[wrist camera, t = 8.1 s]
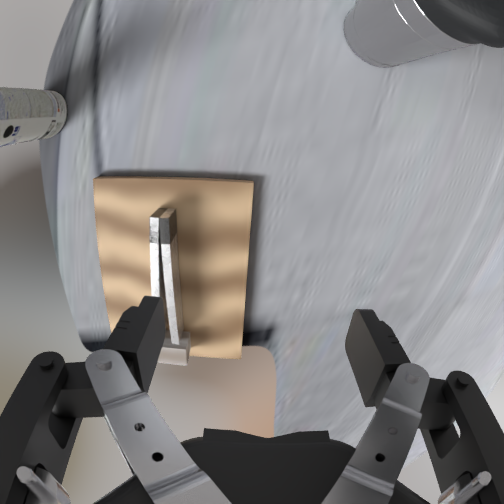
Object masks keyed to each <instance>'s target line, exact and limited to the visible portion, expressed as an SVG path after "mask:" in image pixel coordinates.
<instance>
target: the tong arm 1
mask: <svg viewBox="0 0 504 504" xmlns="http://www.w3.org/2000/svg"><path fill="white" fill-rule="evenodd" d="M166 210H167V208H158V209H157V210H156V211H155V212H154V213H153V214H152V215H151V216H150V217H149V242H150V270H151V295H152V296H156V297H162V298H163V304H164V317H165V332H166V329H167V327H168V319H167V301H166V292H165V283H164V272H163V261H162V249H161V241H160V226H159V218H160V216H161V215H162V214H163V213H164V212H165V211H166Z"/></svg>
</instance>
